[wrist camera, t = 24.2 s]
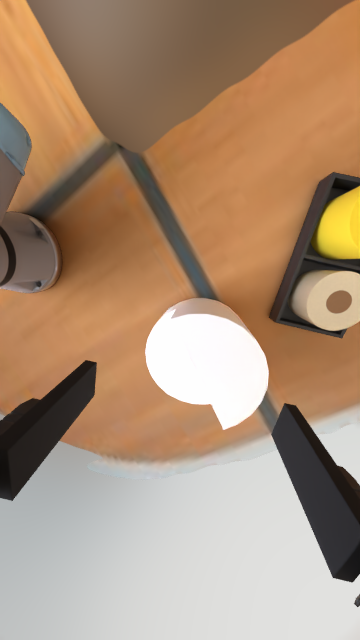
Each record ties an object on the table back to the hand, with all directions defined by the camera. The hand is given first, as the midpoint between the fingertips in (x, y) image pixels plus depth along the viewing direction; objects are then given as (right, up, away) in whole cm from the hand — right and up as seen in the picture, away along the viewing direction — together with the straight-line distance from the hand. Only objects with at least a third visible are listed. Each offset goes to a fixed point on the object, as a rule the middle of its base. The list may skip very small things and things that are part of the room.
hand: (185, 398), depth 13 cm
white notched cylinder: (+4, 0, +29) cm, 29 cm away
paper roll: (+25, +10, +23) cm, 35 cm away
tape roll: (+27, +21, +20) cm, 39 cm away
